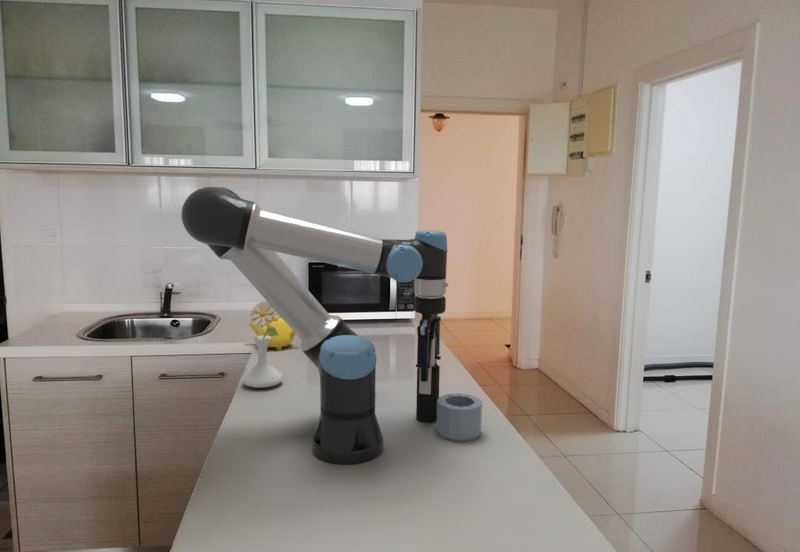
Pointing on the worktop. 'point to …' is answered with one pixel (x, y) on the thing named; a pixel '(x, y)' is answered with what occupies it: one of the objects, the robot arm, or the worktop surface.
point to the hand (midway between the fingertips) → (428, 389)
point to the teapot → (282, 329)
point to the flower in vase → (263, 349)
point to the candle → (426, 402)
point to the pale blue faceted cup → (459, 417)
